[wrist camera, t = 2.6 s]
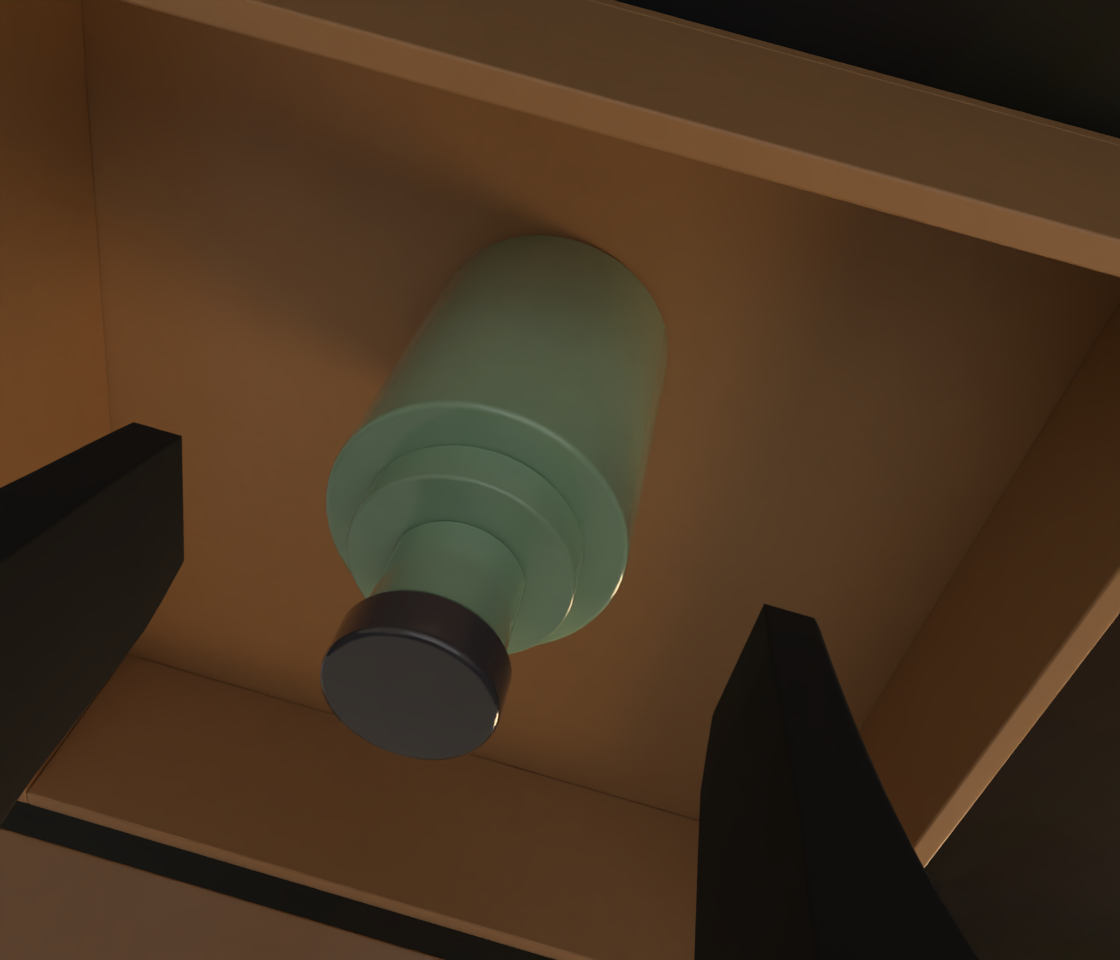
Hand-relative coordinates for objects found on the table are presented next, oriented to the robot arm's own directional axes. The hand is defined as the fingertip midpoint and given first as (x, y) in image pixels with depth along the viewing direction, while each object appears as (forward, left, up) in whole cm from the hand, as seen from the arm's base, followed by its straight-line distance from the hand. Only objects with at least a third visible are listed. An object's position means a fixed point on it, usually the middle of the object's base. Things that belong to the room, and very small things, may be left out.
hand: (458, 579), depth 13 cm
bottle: (0, 0, -6) cm, 6 cm away
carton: (0, -3, -6) cm, 7 cm away
